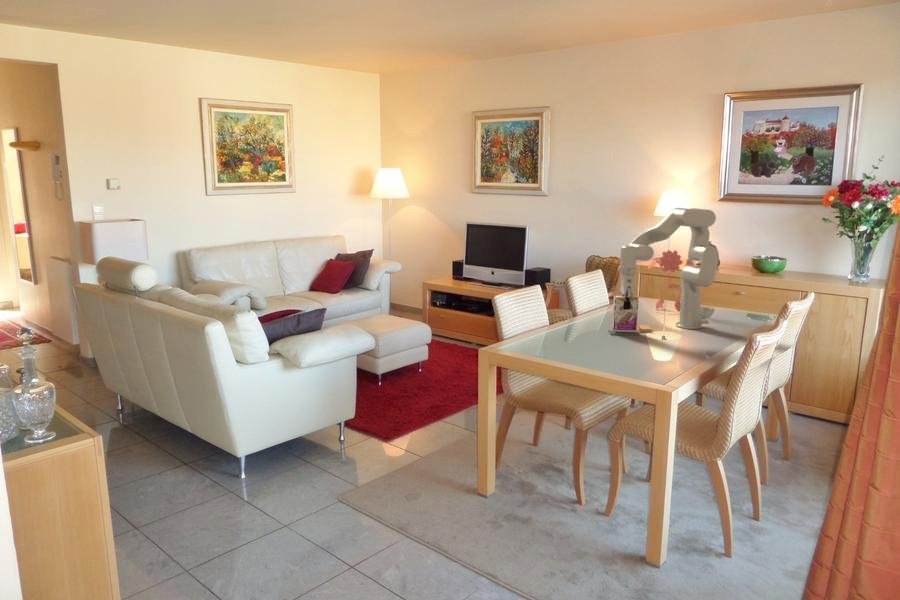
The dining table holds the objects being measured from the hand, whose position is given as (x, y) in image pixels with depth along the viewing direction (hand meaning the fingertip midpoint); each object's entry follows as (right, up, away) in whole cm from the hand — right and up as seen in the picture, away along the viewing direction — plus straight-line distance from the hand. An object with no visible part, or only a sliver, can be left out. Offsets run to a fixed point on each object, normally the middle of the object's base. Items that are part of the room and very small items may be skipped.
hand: (625, 307), depth 321 cm
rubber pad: (0, -13, +3) cm, 13 cm away
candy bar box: (0, -11, +2) cm, 11 cm away
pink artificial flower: (+37, -3, +51) cm, 63 cm away
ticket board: (+11, -11, +9) cm, 19 cm away
